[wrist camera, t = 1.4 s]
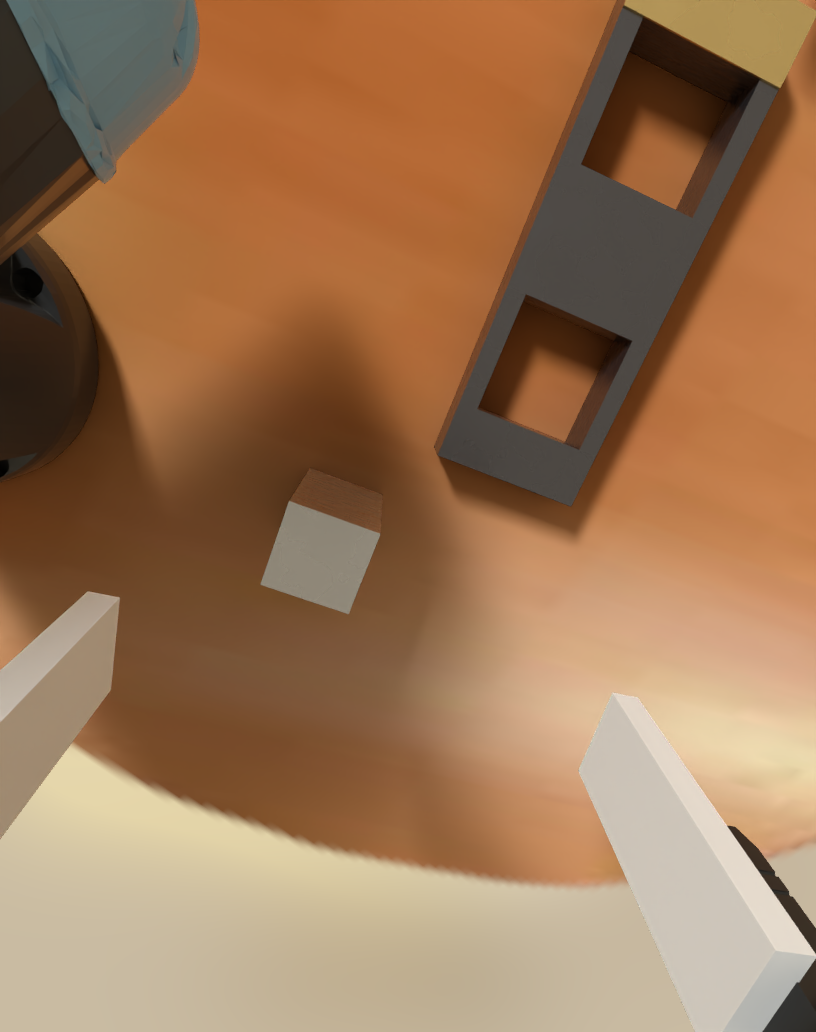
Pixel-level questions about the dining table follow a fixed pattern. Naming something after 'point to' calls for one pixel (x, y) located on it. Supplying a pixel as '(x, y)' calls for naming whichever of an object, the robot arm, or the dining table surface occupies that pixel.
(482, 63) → the dining table surface
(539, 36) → the dining table surface
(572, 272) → the grey slotted frame
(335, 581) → the light grey rectangular block
